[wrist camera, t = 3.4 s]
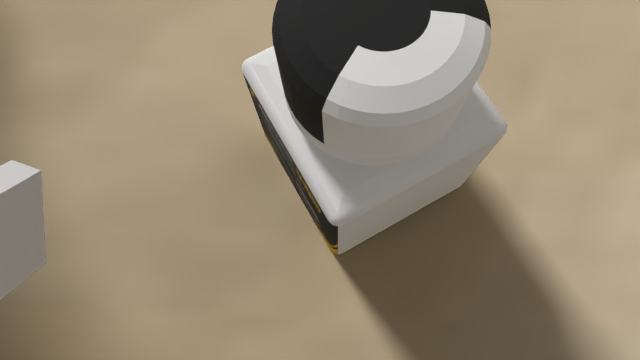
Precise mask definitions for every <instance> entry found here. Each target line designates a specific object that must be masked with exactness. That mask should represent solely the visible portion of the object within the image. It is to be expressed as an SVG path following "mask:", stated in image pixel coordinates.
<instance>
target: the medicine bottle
mask: <svg viewBox="0 0 640 360" xmlns="http://www.w3.org/2000/svg"><path fill="white" fill-rule="evenodd" d="M272 36H273V45H274V46H272V47H270V48H268V49H266V50H264V51H262V52H260V53H258V54H256V55H254V56H252V57H250V58H248V59H246V60H245V61H244V62H243V65H242V72H243V75H244V78H245V80H246V83H247V86H248V89H249V91H250V94H251V97H252V100H253V102H254V105H255V108H256V111H257V113H258V116H259V119H260V122H261V124H262V127H263V130H264V133H265V135H266V138H267V139H268V141H269V143H270V145H271V146H272V148H273V150H274V152H275V153H276V155H277V157H278V159H279V160H280V162H281V164H282V166H283V167H284V169H285V171H286V173H287V174H288V176H289V178H290V180H291V182H292V183H293V185H294V187H295V189H296V190H297V192H298V194H299V196H300V197H301V199H302V201H303V203H304V204H305V206H306V208H307V210H308V211H309V213H310V215H311V217H312V218H313V220H314V222H315V224H316V225H317V227H318V229H319V231H320V232H321V234H322V236H323V238H324V239H325V241H326V243H327V245H328V246H329V248H330V250H331V251H332V252H333V253H334V254H337V255H338V254H342V253H344V252H346V251H347V250H349V249H351V248H353V247H354V246H356V245H358V244H360V243H362V242H363V241H365V240H367V239H369V238H370V237H372V236H374V235H376V234H377V233H379V232H381V231H383V230H384V229H386V228H388V227H390V226H391V225H393V224H395V223H397V222H399V221H400V220H402V219H404V218H406V217H407V216H409V215H411V214H413V213H414V212H416V211H418V210H420V209H421V208H423V207H425V206H427V205H428V204H430V203H432V202H434V201H435V200H437V199H439V198H441V197H443V196H444V195H446V194H448V193H450V192H451V191H453V190H455V189H457V188H458V187H460V186H461V185H462V184H463V183H464V182H465V181H466V180H467V179H468V177H469V176H470V175H471V174H472V173H473V171H474V170H475V169H476V168H477V167H478V165H479V164H480V163H481V162H482V161H483V159H484V158H485V157H486V156H487V155H488V153H489V152H490V151H491V150H492V149H493V147H494V146H495V145H496V144H497V143H498V141H499V140H500V139H501V138H502V137H503V135H504V134H505V133H506V131H507V123H506V120H505V119H504V118H503V116H502V115H501V114H500V112H499V111H498V109H497V108H496V107H495V105H494V104H493V103H492V101H491V100H490V98H489V97H488V96H487V94H486V93H485V92H484V90H483V89H482V87H481V86H480V85H479V83H478V82H477V79H478V77H479V75H480V73H481V72H482V70H483V68H484V65H485V62H486V60H487V57H488V53H489V48H490V43H491V24H490V17H489V13H488V9H487V6H486V3H485V0H278V1H277V4H276V8H275V12H274V16H273V25H272Z"/></svg>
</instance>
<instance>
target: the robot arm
mask: <svg viewBox="0 0 640 360" xmlns="http://www.w3.org/2000/svg"><path fill="white" fill-rule="evenodd" d="M45 264H46V253H45V235H44V217H43V199H42V181H41V170H38V169H35V168H33V167H30V166H27V165H24V164H21V163H19V162H16V161H13V160H11V161H9V162H7V163H5V164H3V165H1V166H0V300H1V299H2V298H4V297H5V296H6V295H7V294H9V293H10V292H11V291H12V290H14V289H15V288H16V287H17V286H19V285H20V284H21V283H22V282H24V281H25V280H26V279H27V278H29V277H30V276H31V275H32V274H34V273H35V272H36V271H37V270H39V269H40V268H41V267H43V266H44V265H45Z"/></svg>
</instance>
